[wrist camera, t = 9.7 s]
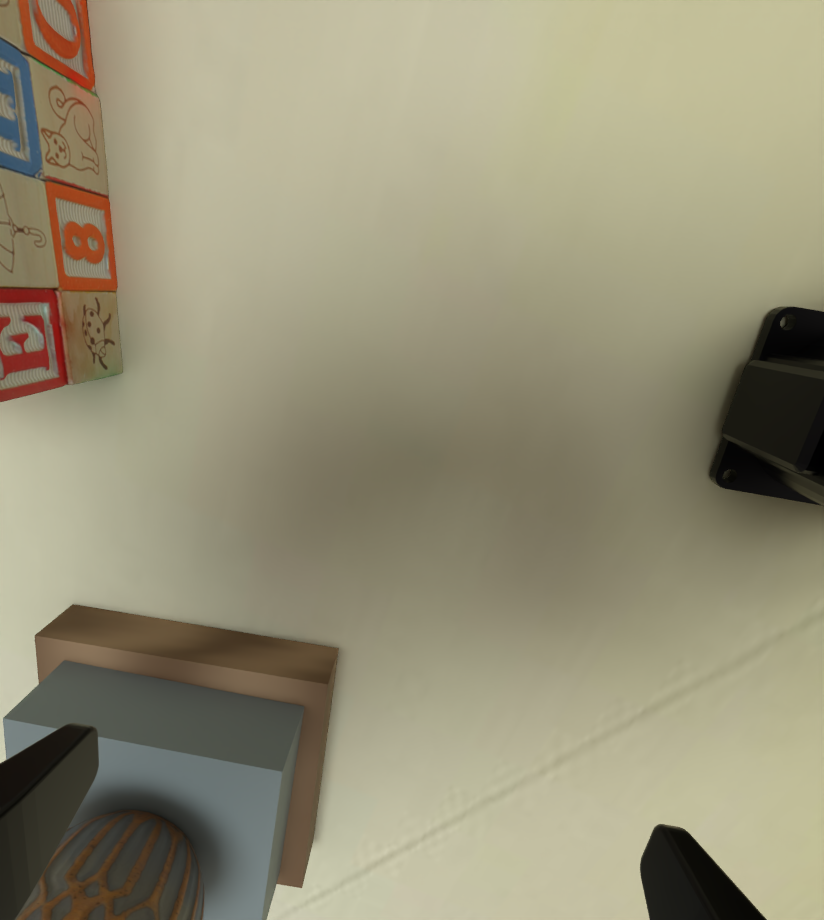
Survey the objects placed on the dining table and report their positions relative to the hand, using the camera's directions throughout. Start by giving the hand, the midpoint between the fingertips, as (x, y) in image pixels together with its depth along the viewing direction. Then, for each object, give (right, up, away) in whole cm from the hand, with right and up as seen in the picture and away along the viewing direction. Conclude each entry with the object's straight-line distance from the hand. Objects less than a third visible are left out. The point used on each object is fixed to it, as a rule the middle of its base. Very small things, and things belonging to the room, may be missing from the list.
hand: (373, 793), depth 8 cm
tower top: (-10, -8, +14) cm, 19 cm away
